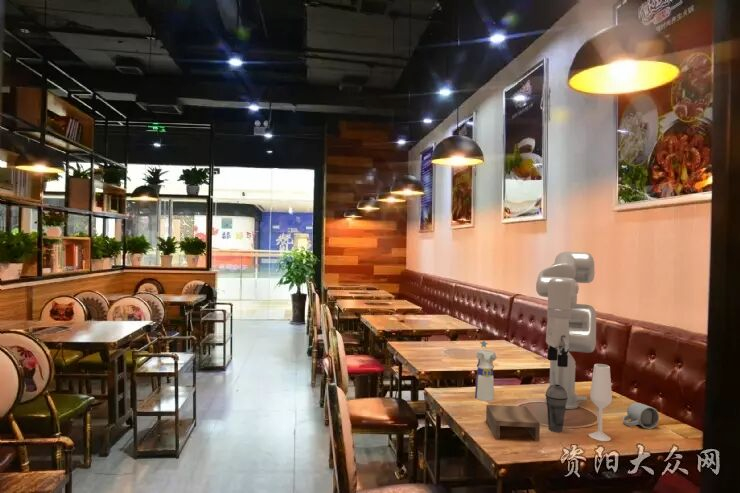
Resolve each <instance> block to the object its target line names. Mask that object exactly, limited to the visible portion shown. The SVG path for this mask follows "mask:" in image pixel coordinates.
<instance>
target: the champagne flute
mask: <svg viewBox="0 0 740 493" xmlns="http://www.w3.org/2000/svg"><path fill="white" fill-rule="evenodd" d="M589 398H590V400H591V402H592V403H593V404H594V406H595V407H597V408H598V416H597V417H598V420H597V421H598V422H597V423H598V425H597V426H598V427H597V431H593V432H591V433H589V434H588V436H589V437H590V438H591V439H594V440H596V441H600V442H608V441H611V440H612V438H611V437H610V436H609V435H608V434H606V433H604V431H603V409H605V408H607V407H608V406H610V404H611V403H612V401H613V395H612V380H611V366H609V365H608V364H603V363H595V364H594V365H593V371H592V379H591V386H590V394H589Z"/></svg>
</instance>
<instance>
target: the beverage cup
mask: <svg viewBox="0 0 740 493" xmlns="http://www.w3.org/2000/svg"><path fill="white" fill-rule="evenodd" d="M553 379H554V385H551V386H550V385H549V386H548V387H547V389H546V391H545V394H544V395H545V399H546V401H547V404H546V407H547V424H548V430H550V431H551V432H556V433H562V432H563V429H564V423H565V415H566V409H565V407H566V403H567V399H568V397H567V393H566V390H565V389H564V388H563V387H562V386H560V385H557V384H555V374H554V372H553Z"/></svg>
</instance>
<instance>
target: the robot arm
mask: <svg viewBox="0 0 740 493" xmlns="http://www.w3.org/2000/svg"><path fill="white" fill-rule="evenodd" d="M594 278H595V261H594V257H593V255H592V254H591V253H589V252H580V251H563V252H560V253H558V254H557V256H556V257H555V259H554V263H553V264H552V265H550V266H549V267H546V268H543V269H542V270H541V271H540V272H539V274H538V276H537V279H536V284H535V289H536V293H537V294H538V295H539V296H540V297H543V298H547V311H546V312H547V315H546V317H547V323H546V324H547V325H546V332H545V333H546V334H545V343H546V345H547V348H548V349H547V360H548V361H549V362H550V363H549V387H550V386H551V385H554V379H553V372H554V374H555V384H557V385H560V386H562V387H563V388H564V389H565V390H566V393H567V397H568V399H567V403H566V407H565V410H575V409H577V408H579V402H583V403H584V402H587V401H588V397H587V396H582V395H580V394H576V393H575V392H576V388H575V387H576V360H575V358H574V357H573V355H572V354H571V353H570V352H578V353H585V354H586V353H588V354H589V353H593V352H594V351H595V349H596V343H597V341H596V340H597V314H596V308H594V307H593V305H590V304H583V303H578V302H577V301H578V294H579V287H580V286H579V284H590V283H592V282H593V281H594ZM544 402H545V404H546V405H547V401H546V398H545V399H544Z"/></svg>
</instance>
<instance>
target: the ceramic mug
mask: <svg viewBox="0 0 740 493" xmlns="http://www.w3.org/2000/svg"><path fill="white" fill-rule="evenodd" d="M626 410H627V411H626V412H627V415H625V416H623V417H622V423H623V424H624V425H625V426H626V427H627V426H628V427H635V426H637V425H639V426H640V427H642V428H644V429H647V430H652V429H654V428H656V427H657V425H658V424H659V420H660V416H659V412H658V411H657V409H656V408H654V407H652V406H649V405H647V404H644V403H641V402H633V403H631V404H629V406H627V409H626ZM628 420H631V421H628Z"/></svg>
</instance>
